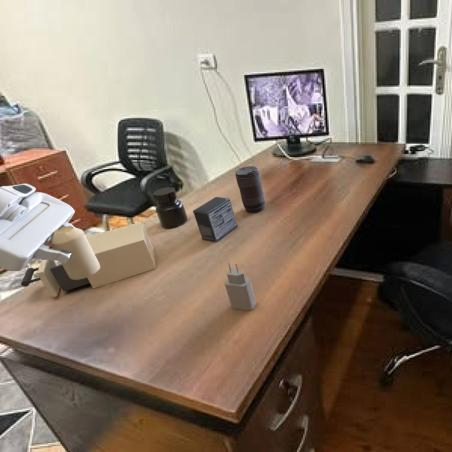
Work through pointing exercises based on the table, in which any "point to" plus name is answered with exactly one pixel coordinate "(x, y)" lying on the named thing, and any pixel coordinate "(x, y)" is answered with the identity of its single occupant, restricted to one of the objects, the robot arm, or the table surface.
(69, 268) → the candle
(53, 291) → the drawer
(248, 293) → the power adapter
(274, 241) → the table surface
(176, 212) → the ink bottle
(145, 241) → the cabinet
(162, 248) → the table surface
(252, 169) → the camera lens
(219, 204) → the small box
